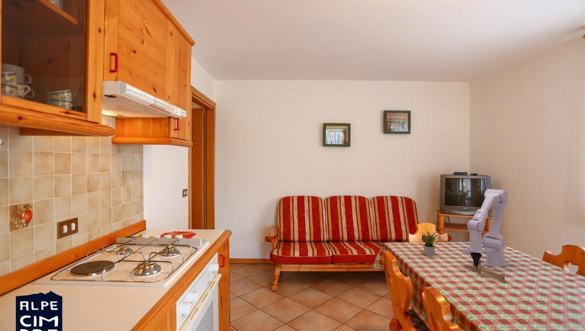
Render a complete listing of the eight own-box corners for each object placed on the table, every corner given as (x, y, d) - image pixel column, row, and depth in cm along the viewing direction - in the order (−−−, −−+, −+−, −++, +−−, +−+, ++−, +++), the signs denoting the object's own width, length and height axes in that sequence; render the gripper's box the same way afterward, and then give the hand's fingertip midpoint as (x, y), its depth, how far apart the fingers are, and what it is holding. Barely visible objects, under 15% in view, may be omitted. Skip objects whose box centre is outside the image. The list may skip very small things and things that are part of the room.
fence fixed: (479, 273, 146) (478, 265, 146) (505, 282, 134) (505, 274, 134) (477, 273, 146) (476, 266, 146) (503, 283, 134) (503, 274, 134)
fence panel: (481, 273, 146) (481, 265, 146) (477, 272, 147) (477, 265, 147) (480, 266, 155) (480, 259, 155) (477, 266, 156) (477, 259, 156)
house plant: (444, 254, 179) (444, 229, 179) (443, 260, 168) (443, 233, 168) (420, 250, 187) (420, 226, 187) (418, 256, 175) (417, 231, 175)
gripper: (465, 243, 150) (465, 268, 149) (494, 244, 148) (494, 269, 148) (459, 239, 157) (459, 263, 157) (486, 240, 155) (486, 264, 155)
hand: (475, 265), depth 153 cm, fingers closed, pressing on fence panel
